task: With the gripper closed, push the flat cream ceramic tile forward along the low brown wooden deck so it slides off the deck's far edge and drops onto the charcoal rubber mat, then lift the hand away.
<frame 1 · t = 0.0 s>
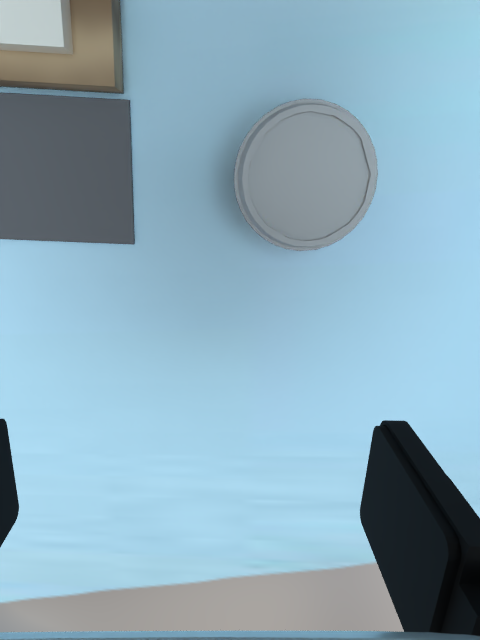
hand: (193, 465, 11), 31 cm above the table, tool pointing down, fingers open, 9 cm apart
disposable coffee cup: (283, 177, 39), on the table
deck: (42, 3, 34), on the table
mat: (57, 172, 38), on the table
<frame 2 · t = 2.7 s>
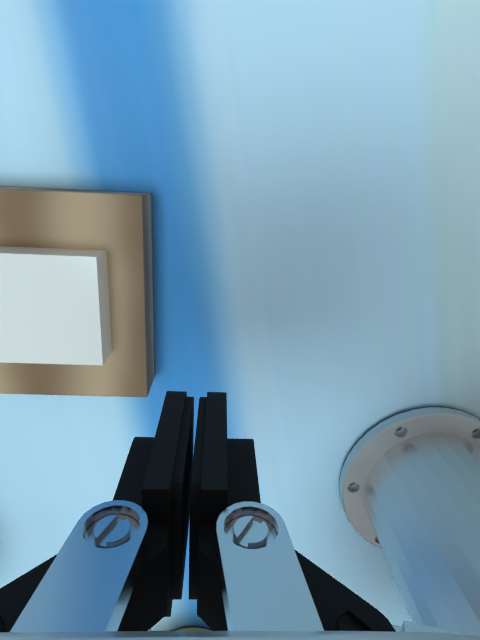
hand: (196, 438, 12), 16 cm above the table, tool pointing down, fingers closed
tile: (38, 300, 24), point 3 cm above the table, touching deck
deck: (57, 287, 27), on the table
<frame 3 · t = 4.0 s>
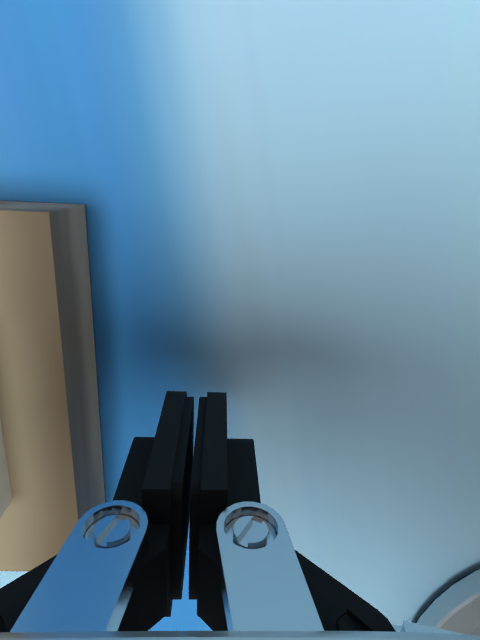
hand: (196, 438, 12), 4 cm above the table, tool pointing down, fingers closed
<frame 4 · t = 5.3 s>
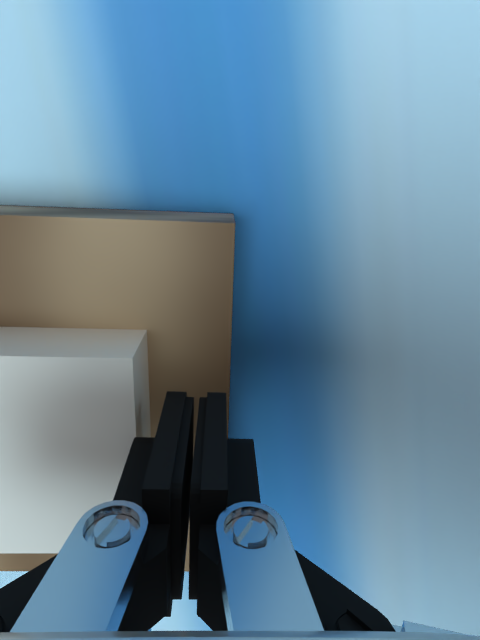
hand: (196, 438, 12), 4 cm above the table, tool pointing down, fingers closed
tile: (16, 420, 13), point 3 cm above the table, touching gripper
deck: (64, 375, 16), on the table
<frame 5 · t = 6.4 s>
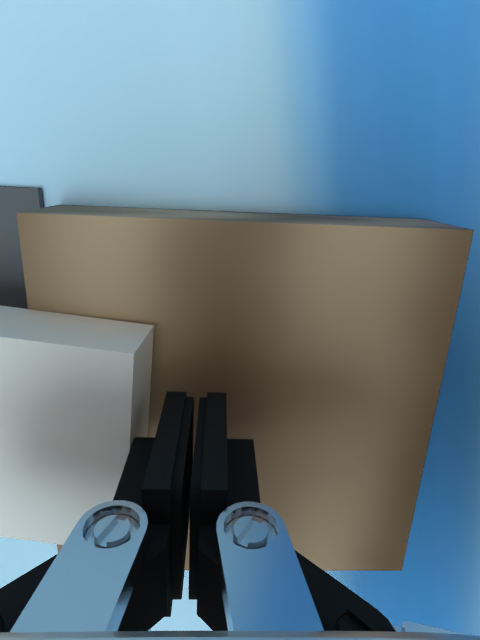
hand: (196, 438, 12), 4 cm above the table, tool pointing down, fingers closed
tile: (15, 402, 13), point 3 cm above the table, touching deck, gripper
deck: (238, 377, 16), on the table
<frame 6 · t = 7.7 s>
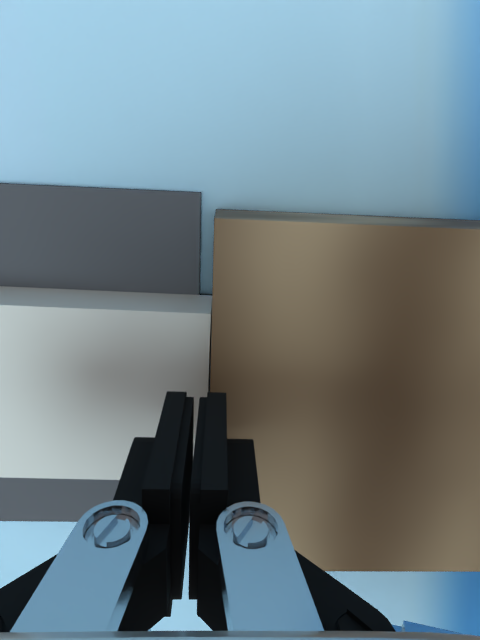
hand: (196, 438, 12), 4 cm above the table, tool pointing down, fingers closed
tile: (97, 371, 15), resting on mat
deck: (371, 380, 16), on the table
mat: (31, 372, 16), on the table
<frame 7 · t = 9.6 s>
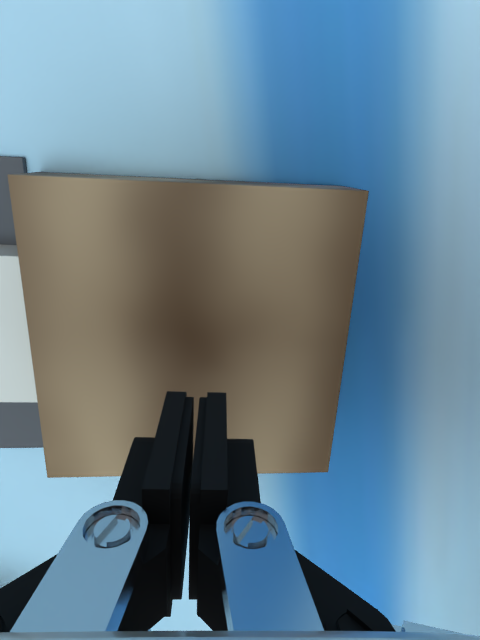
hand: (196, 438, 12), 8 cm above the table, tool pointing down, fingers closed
deck: (194, 319, 19), on the table
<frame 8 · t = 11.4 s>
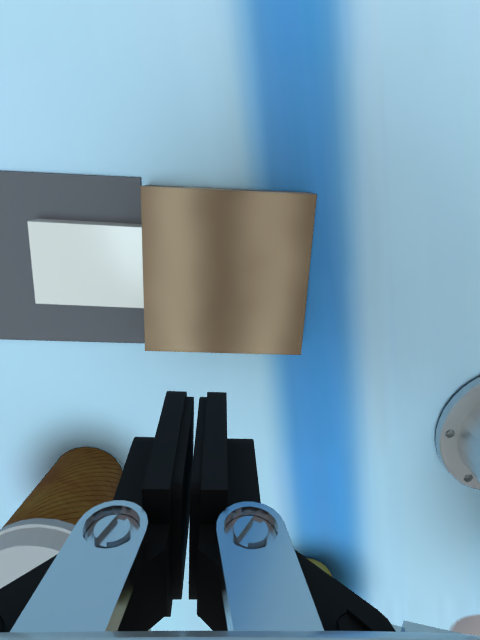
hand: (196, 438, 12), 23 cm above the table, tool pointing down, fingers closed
tile: (95, 261, 33), resting on mat
disposable coffee cup: (89, 473, 40), on the table
deck: (226, 267, 34), on the table
mat: (65, 261, 33), on the table
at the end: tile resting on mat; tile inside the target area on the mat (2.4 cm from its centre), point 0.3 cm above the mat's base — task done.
